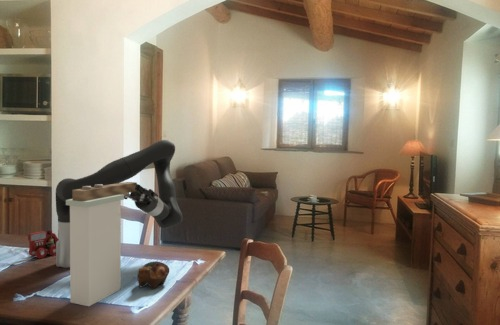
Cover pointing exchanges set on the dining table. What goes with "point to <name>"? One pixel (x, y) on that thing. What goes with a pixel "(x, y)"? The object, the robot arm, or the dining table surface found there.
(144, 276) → the decorative turtle
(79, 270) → the pillar
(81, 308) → the dining table surface
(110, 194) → the beam
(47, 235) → the toy fire truck
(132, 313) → the dining table surface
